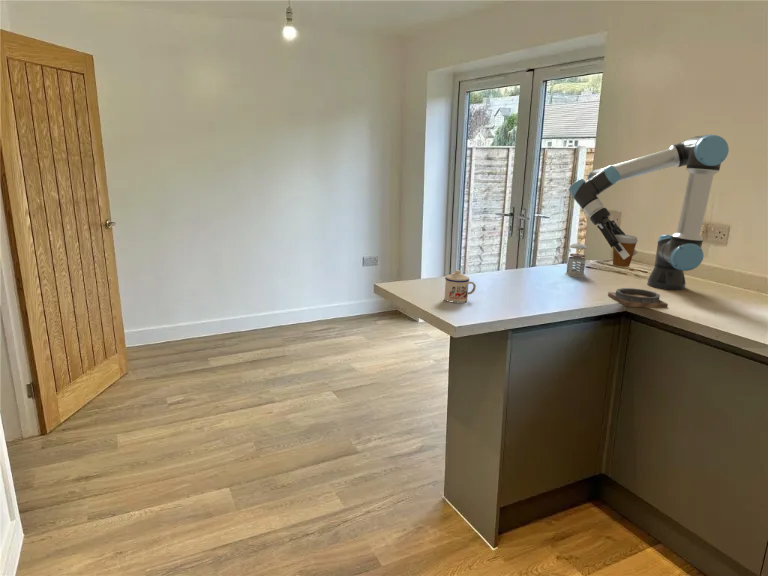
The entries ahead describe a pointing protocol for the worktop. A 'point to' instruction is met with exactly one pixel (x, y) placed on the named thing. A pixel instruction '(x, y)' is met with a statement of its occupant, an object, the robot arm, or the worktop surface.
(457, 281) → the teacup with lid
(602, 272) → the worktop surface
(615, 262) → the disposable coffee cup
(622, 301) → the docking plate
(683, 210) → the robot arm
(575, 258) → the french press
